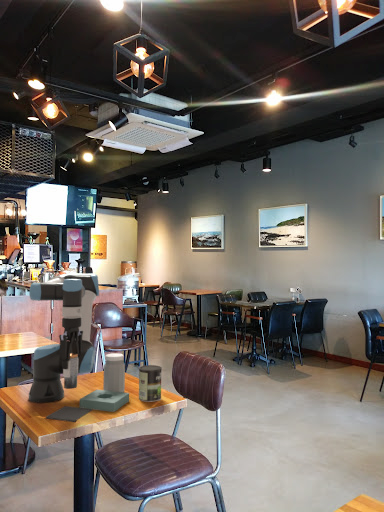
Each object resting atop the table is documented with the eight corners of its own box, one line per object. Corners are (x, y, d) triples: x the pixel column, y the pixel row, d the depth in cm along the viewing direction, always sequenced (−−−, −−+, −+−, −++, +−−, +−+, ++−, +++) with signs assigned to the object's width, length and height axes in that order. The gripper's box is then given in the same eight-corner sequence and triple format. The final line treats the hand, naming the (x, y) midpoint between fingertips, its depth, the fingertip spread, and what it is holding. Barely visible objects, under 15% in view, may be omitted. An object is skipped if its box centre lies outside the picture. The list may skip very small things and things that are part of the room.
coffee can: (163, 396, 187) (164, 365, 187) (157, 403, 177) (158, 371, 177) (142, 394, 189) (143, 364, 189) (135, 401, 179) (135, 369, 179)
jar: (99, 395, 187) (99, 356, 188) (110, 389, 196) (111, 352, 197) (117, 397, 184) (117, 358, 184) (128, 391, 193) (128, 353, 193)
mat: (45, 418, 158) (45, 416, 158) (65, 407, 170) (65, 405, 170) (75, 422, 154) (75, 420, 154) (92, 410, 167) (92, 409, 167)
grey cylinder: (61, 388, 161) (62, 355, 161) (68, 384, 166) (69, 352, 166) (72, 389, 159) (73, 356, 160) (79, 385, 164) (80, 353, 165)
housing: (79, 408, 169) (79, 399, 169) (96, 398, 183) (96, 389, 183) (114, 413, 165) (114, 403, 165) (128, 402, 178) (129, 393, 178)
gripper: (67, 320, 154) (65, 381, 153) (91, 315, 171) (90, 370, 170) (50, 319, 156) (48, 380, 155) (76, 314, 173) (75, 369, 172)
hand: (70, 375), depth 163 cm, fingers closed on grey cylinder, 5 cm apart
